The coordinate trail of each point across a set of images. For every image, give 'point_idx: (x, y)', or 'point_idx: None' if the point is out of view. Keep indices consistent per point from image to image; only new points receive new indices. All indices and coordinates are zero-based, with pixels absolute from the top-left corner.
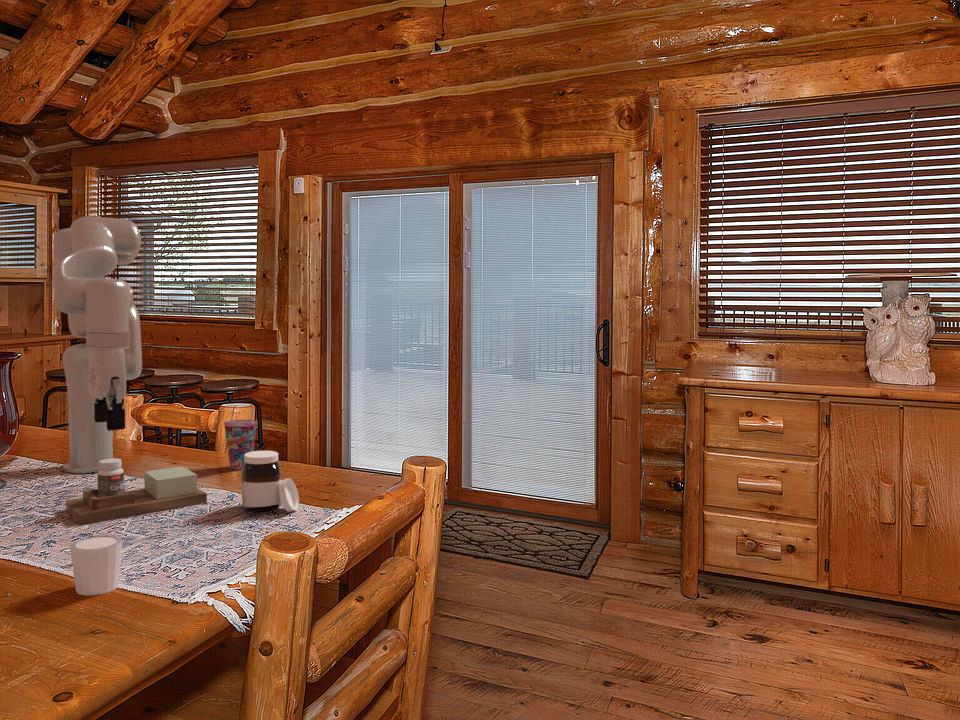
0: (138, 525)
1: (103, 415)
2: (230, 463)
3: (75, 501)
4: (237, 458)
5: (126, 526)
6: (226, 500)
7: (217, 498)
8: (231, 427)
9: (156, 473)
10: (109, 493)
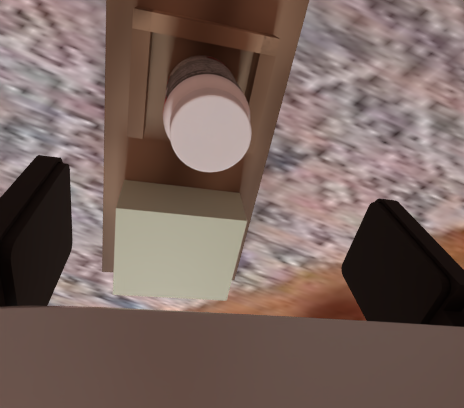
0: (7, 75)
1: (373, 259)
2: None
3: (276, 9)
4: None
5: (16, 47)
6: (99, 287)
7: None
8: None
9: (200, 235)
10: (169, 81)
